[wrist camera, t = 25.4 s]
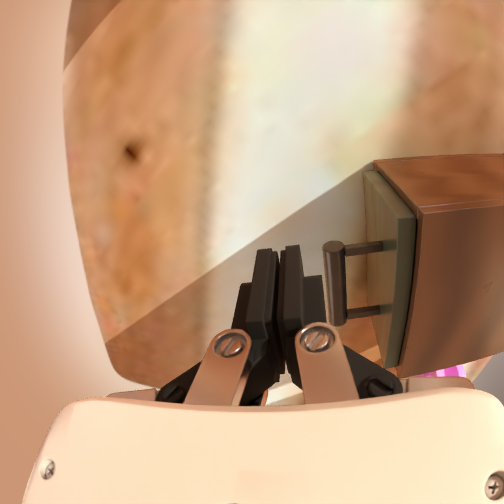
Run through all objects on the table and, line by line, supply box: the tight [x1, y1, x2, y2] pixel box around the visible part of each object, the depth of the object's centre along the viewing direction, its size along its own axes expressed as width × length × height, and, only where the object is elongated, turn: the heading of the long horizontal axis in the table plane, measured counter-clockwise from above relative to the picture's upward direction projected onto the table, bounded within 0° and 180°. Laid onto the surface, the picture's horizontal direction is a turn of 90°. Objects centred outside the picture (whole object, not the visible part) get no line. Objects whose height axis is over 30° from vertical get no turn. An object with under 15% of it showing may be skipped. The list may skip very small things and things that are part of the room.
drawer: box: [322, 170, 418, 369], centre depth 21 cm, size 19×13×9 cm
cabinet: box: [374, 154, 504, 379], centre depth 20 cm, size 16×15×11 cm
